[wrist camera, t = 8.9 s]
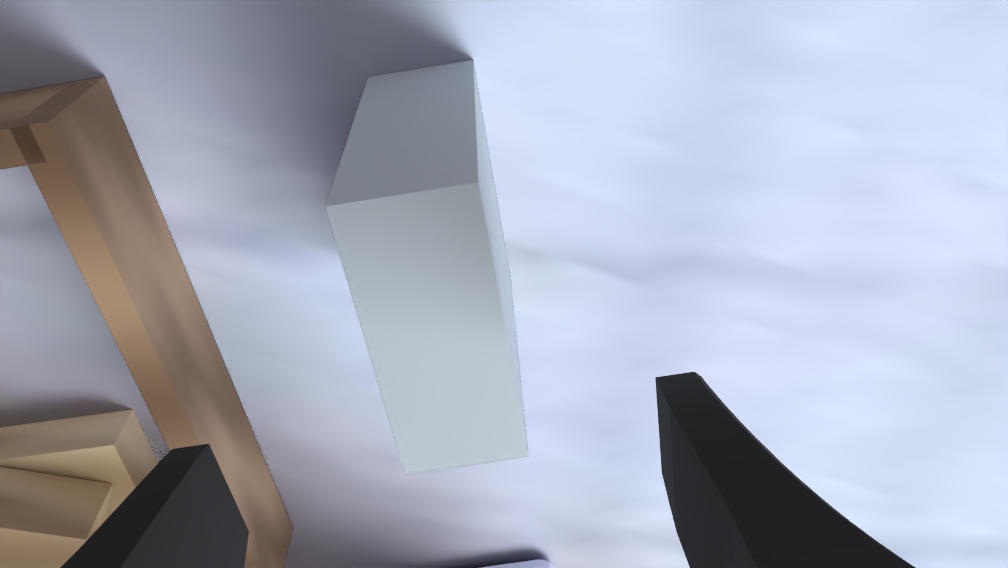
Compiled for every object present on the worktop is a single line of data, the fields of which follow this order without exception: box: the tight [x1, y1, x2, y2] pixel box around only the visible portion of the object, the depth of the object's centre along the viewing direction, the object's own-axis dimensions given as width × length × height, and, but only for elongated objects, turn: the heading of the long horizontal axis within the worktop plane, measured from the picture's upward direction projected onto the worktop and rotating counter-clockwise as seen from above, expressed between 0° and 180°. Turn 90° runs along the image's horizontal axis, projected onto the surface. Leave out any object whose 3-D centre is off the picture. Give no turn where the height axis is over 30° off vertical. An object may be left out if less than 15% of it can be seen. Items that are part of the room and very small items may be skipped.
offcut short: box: [0, 467, 113, 568], centre depth 23 cm, size 3×5×2 cm, turn 74°
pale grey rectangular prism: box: [325, 60, 529, 475], centre depth 17 cm, size 6×2×7 cm, turn 9°
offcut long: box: [0, 409, 159, 514], centre depth 24 cm, size 4×7×2 cm, turn 98°
